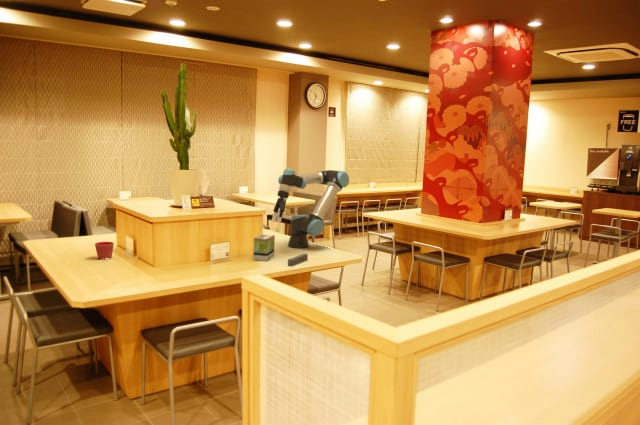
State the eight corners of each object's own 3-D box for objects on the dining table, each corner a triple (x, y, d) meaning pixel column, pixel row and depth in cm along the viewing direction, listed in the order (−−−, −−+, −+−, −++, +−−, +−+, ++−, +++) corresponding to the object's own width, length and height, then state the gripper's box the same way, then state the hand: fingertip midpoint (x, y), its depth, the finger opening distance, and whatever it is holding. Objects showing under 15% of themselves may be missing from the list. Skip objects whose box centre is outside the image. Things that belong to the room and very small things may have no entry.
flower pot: (114, 259, 318) (113, 244, 316) (95, 260, 314) (94, 245, 312) (114, 255, 327) (113, 241, 326) (95, 256, 323) (95, 242, 322)
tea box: (267, 261, 322) (268, 238, 320) (252, 260, 324) (253, 237, 322) (274, 256, 337) (274, 234, 335) (260, 255, 339) (260, 233, 336)
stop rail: (303, 259, 329) (303, 253, 329) (307, 260, 328) (307, 254, 328) (287, 265, 312) (287, 259, 311) (292, 266, 310) (292, 260, 310)
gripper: (274, 190, 348) (266, 220, 346) (283, 189, 325) (275, 220, 323) (284, 193, 351) (276, 223, 349) (294, 192, 327) (286, 223, 325)
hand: (275, 222), depth 336 cm, fingers open, 13 cm apart
